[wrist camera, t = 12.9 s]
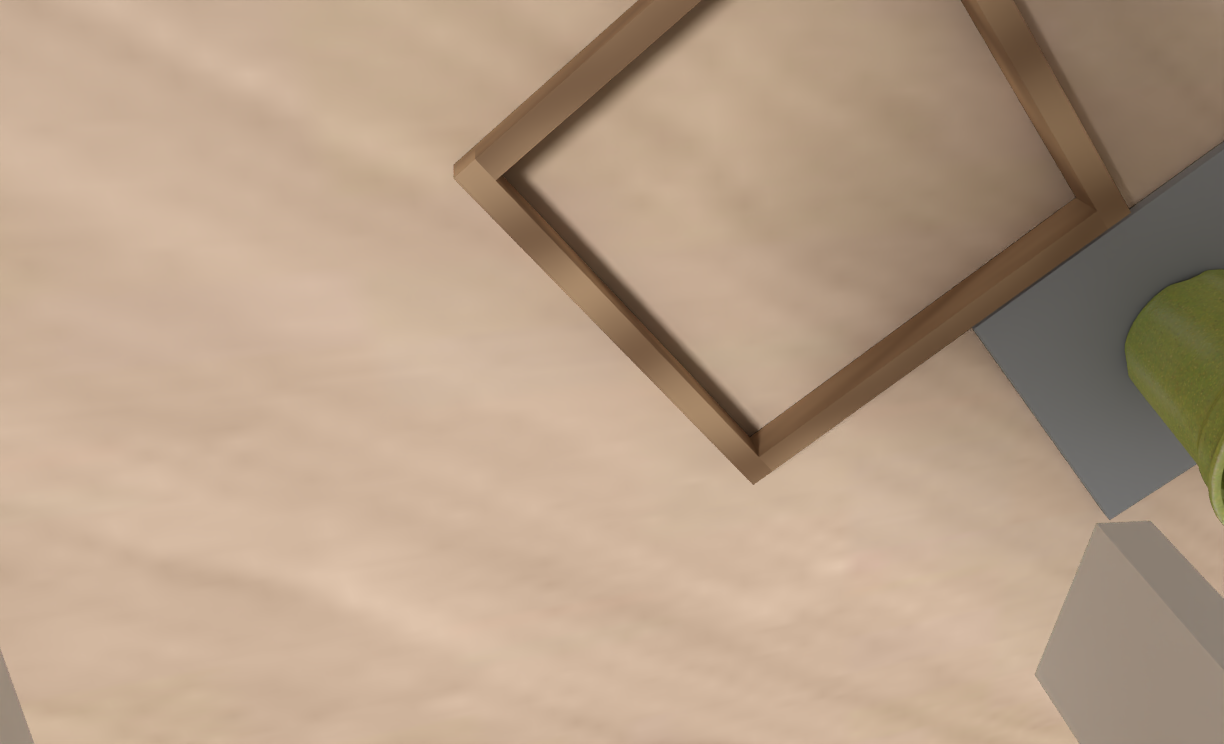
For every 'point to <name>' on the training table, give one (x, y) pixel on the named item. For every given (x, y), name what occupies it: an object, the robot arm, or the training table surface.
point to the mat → (1110, 336)
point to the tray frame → (891, 356)
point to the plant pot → (1186, 370)
